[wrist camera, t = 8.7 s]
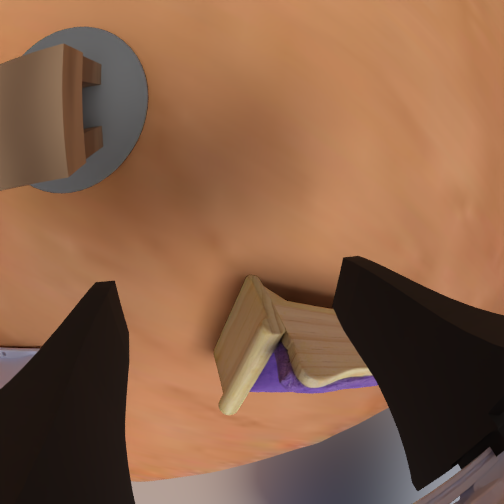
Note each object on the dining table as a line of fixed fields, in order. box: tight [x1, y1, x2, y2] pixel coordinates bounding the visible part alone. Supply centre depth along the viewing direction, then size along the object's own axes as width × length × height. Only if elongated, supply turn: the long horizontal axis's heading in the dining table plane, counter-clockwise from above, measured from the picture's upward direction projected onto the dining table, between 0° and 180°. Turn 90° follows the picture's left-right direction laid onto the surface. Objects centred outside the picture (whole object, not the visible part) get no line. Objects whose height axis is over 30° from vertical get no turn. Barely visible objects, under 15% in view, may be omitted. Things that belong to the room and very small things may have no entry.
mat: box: [23, 27, 148, 193], centre depth 13 cm, size 10×10×1 cm
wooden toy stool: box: [0, 44, 103, 191], centre depth 10 cm, size 5×5×6 cm
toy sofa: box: [214, 275, 378, 415], centre depth 23 cm, size 21×9×10 cm, turn 68°
